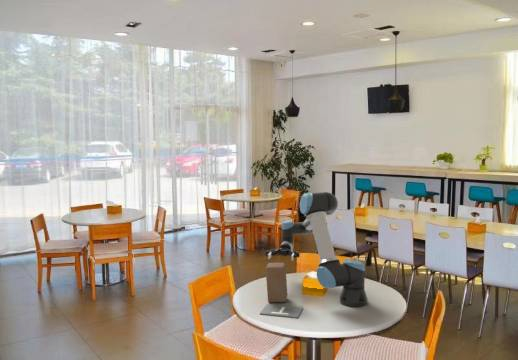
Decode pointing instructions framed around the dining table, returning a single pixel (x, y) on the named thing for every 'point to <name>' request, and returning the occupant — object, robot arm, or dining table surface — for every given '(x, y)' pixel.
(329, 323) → the dining table surface
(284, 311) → the letter board
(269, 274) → the block
